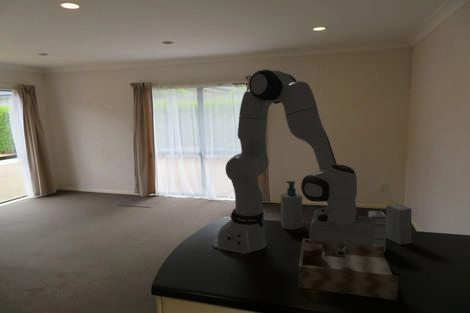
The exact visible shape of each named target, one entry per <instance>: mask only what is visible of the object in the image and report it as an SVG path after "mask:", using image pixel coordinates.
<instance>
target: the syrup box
mask: <svg viewBox="0 0 470 313" xmlns="http://www.w3.org/2000/svg"><path fill="white" fill-rule="evenodd" d="M367 212H368V213H367V217H371V218H372V219H374V220H375V222H376V228H375V229H374V239H375V243H374V245H383V246H384V252H386V246H387V243H386V242H387V238H386V214H385V213H384V211H382V210H381V211H380V210H369V211H367Z"/></svg>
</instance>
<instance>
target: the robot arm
mask: <svg viewBox="0 0 470 313" xmlns="http://www.w3.org/2000/svg"><path fill="white" fill-rule="evenodd" d="M248 86H249V87H248V90H246V91H245V92H244V93H243V96H242V99H241V103H240V107H239V108H240V109H239V115H238V125H237V126H238V127H237V138H238V139H239V143H240V146H241V148H240V149H241V152H240V153H238V154H236V155H234V156H232V157H231V158H230V159H229V160H228V161H227V162H226V163H225V174H226V176H227V178H228V179H229V180H230V181H231V183H232V187H233V192H234V197H235V199H234V202H235V208H234V209H232V212H231V213H230V220H229V221H228V222H226V223H225V224H223V225H222V226H221V227H220V229H219V231H218V235H217V236H216V237H215V238H214V240H213V241H212V247H213V248H214V249H219V250H223V251H229V252H233V253H237V254H242V255H245V254H246V255H247V254H249V253H252V252H258V251H261V250H263V249H265V248H266V246H267V240H266V237H265V231H264V224H265V223H264V222H265V215H264V211H263V192H262V191H261V189H260V186H259V183H258V182H259V181H258V177H259V176H260V175H262V174H264V173H265V171H267V168H268V167H269V163H270V162H269V161H270V160H269V158H268V156H267V148H266V134H267V124H268V115H269V114H268V113H269V109H270V106H271V105H272V104H274V105H276V104H282V105H283V109H284V113H285V119H286V123H287V127H288V128H289V132H290V133H291V134H292V135H293V136H294V137H295V138H297V139H298V140H302V141H303V142H305V143H307V144H308V145H309V146H310V147H311V148H312V150H313V153H314V155H315V159H316V161H317V165H318V168H319V170H318V171H316V172H313V173H310V174H308V175H306V176H304V177H303V179H302V181H301V183H300V184H301V185H300V189H301V192H302V195H303V196H304V198H306V200H308V201H309V202H315V203H316V202H317V203H319V202H320V203H321V202H326V203H327V206H325V207H322V208H316V209H315V210H314V211H313V218H312V220H311V222H310V227H309V238H308V239H311V240H312V241H320V242H331V243H333V247H334V249H335V250H336V255H339V256H345V251H346V250H347V249H348V248H349V244H353V245H364V246H372V245H374V243H375V239H374V229H375V228H376V222H375V220H374V219H372V218H371V217H368V216H361V215H357V204H356V197H357V194H358V182H357V174H356V171H355V170H354V169H353V168H352V167H350V166H348V165H344V164H338V163H337V160H336V157H335V154H334V152H333V149H332V145H331V142H330V139H329V137H328V135H327V132H326V130H325V127H324V126H323V123H322V121H321V117H320V114H319V108H318V105H317V101H316V99H315V96H314V93H313V91H312V89H311V87H310V84H308V82H305V81H301V80H300V81H299V80H296V78H295V77H294V76H292V75H291V74H289V73H287V72H286V73H285V72H283V71H279V70H270V69H260V70H257V71H256V72H253V74H252V75H251V77H250V80H249V83H248ZM337 243H342V244H344V248H343V249H338V248H337Z"/></svg>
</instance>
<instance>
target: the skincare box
mask: <svg viewBox="0 0 470 313" xmlns="http://www.w3.org/2000/svg"><path fill="white" fill-rule="evenodd" d="M385 207H386V209H385V212H386V214H385V215H386V239H388V240H390V241H392V242H393V243H395V244H397V245H399V246H400V245H408V244H409V245H410V244H411V243H412V208H410V207H407V206H405V205H402V204H399V203H394V204H392V203H391V204H388V205H386V206H385Z"/></svg>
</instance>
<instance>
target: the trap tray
mask: <svg viewBox="0 0 470 313" xmlns="http://www.w3.org/2000/svg"><path fill="white" fill-rule="evenodd" d="M304 243H315V244H322V266H316V265H307V264H303V249H304ZM300 248H301V249H300V254H299V259H298V260H299V261H298V276H297V277H298V279H297V280H298V282H297V283H298V284H297V285H298V288H301V289H308V290H309V289H310V290H317V291H322V292H323V291H324V292H332V293H339V294H347V295H353V296H360V297H361V296H362V297H370V298H377V299H384V300H392V301H398V297H399V296H398V293H399V280H400V279H399V276H398V275H394V274H393V273H392V271H391V268H390V266H389V264H388V262H387V259H386V257H385V254H384V253H385V251H384V246H383V245H372V246H364V245H353V244H349V248H348V249H347V250H346V251H345V256H339V255H336V250H335V249H334V247H333V243H331V242H320V241H312V240H311V239H310V238H302V240H301V246H300ZM337 248H338V249H343V248H344V244H342V243H337Z"/></svg>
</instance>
